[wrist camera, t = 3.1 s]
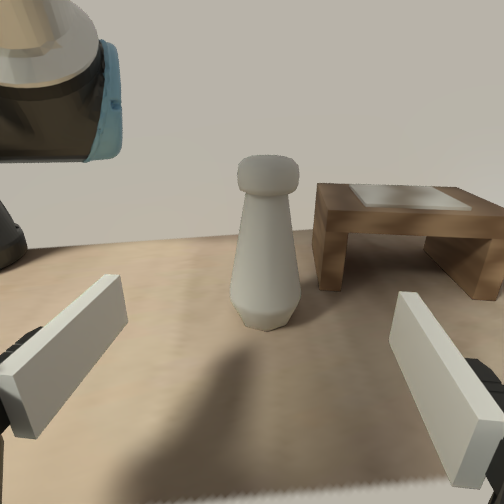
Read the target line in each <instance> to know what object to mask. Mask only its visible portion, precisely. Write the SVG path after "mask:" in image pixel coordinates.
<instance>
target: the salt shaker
mask: <svg viewBox="0 0 504 504" xmlns="http://www.w3.org/2000/svg"><path fill="white" fill-rule="evenodd" d="M237 175H238V176H237V177H238V186H239V189H240V190H241V191H243V192H246V194H245V200H244V207H243V212H242V219H241V224H240V230H239V236H238V242H237V248H236V254H235V260H234V266H233V272H232V278H231V284H230V299H231V302H232V304H233V305H234V307H235V309H236V310H237V312H238V313H239V315H240V317H241V318H242V320H243V322H244V324H245V326H247V327H251V328H254V329H258V330H262V331H266V332H267V331H270V330H273V329H276V328H279V327H282V326H284V325H286V324H287V322H288V321H289V319H290V317H291V315H292V314H293V312H294V310H295V309H296V307H297V305H298V303H299V301H300V297H301V287H300V281H299V274H298V267H297V260H296V253H295V246H294V239H293V232H292V225H291V217H290V209H289V200H288V194H290V193H292V192H294V191H295V190H296V189H297V186H298V181H299V168H298V165H297V164H296V162H295V161H294V160H293V159H291V158H288V157H284V156H277V155H256V156H250V157H247V158H244V159H243V160H242V161H241V162H240V163H239V166H238V172H237Z"/></svg>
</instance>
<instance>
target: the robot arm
mask: <svg viewBox="0 0 504 504" xmlns="http://www.w3.org/2000/svg"><path fill="white" fill-rule="evenodd" d="M121 147H122V107H121V82H120V69H119V59H118V53H117V49H116V47H115V46H114V45H113V44H111V43H108V42H105V41H104V40H102V39H101V40H99V39H98V35H97V31H96V29H95V26H94V24H93V22H92V20H91V19H90V18H89V16H88V15H87V14H86V13H85V12H84V11H83V10H82V9H81V8H80V7H78V6H77V5H76V4H74V3H73V2H71V1H70V0H0V163H50V162H83V163H87V162H89V161H92V160H103V159H111V158H114V157H115V156H117V155H118V154H119V152H120V150H121ZM26 251H27V244H26V240H25V237H24V233H23V231H22V229H21V228H20V226H19V225H18V224H16V223H14V221H13V219H12V218H11V216H10V214H9V213H8V211H7V210H6V208H5V206H4V205H3V204H2V202H1V201H0V269H2V268H4V267H6V266H8V265H10V264H12V263H14V262H15V261H17V260H18V259H20V258H21V257H22V256H23V255H24V254H25V253H26ZM127 323H128V318H127V312H126V306H125V300H124V295H123V289H122V283H121V277H120V275H112V274H105V275H104V276H102V277H101V278H100V279H99V280H98V281H97V282H95V283H94V284H93V285H92V286H91V287H90V288H88V289H87V290H86V291H85V292H84V293H83V294H81V295H80V296H79V297H78V298H77V299H76V300H74V301H73V302H72V303H71V304H70V305H69V306H67V307H66V308H65V309H64V310H63V311H62V312H60V313H59V314H58V315H57V316H56V317H55V318H53V319H52V320H51V321H50V322H49V323H48V324H46V325H45V326H44V327H41V326H40V327H38V328H36V329H34V330H32V331H31V332H29V333H27V334H25V335H24V336H23V337H22V338H20V339H19V340H18V341H17V342H16V343H15V345H12V346H11V347H10V348H8V349H7V350H6V352H4V353H2V354H1V355H0V504H2V480H3V452H4V441H3V437H2V435H1V434H2V433H3V432H4V430H5V429H6V428H7V427H8V426H9V425H10V426H11V428H12V431H13V433H14V436H15V437H19V438H28V439H37V438H38V437H39V435H40V434H41V433H42V431H43V430H44V429H45V428H46V426H47V425H48V424H49V423H50V421H51V420H52V419H53V417H54V416H55V415H56V414H57V412H58V411H59V410H60V409H61V407H62V406H63V405H64V403H65V402H66V401H67V400H68V398H69V397H70V396H71V394H72V393H73V392H74V391H75V389H76V388H77V387H78V386H79V384H80V383H81V382H82V380H83V379H84V378H85V377H86V375H87V374H88V373H89V371H90V370H91V369H92V368H93V366H94V365H95V364H96V363H97V361H98V360H99V359H100V357H101V356H102V355H103V354H104V352H105V351H106V350H107V349H108V347H109V346H110V345H111V343H112V342H113V341H114V340H115V338H116V337H117V336H118V334H119V333H120V332H121V331H122V329H123V328H124V327H125V326H126V324H127ZM389 344H390V346H391V348H392V351H393V353H394V355H395V357H396V360H397V362H398V364H399V367H400V369H401V371H402V373H403V376H404V378H405V380H406V383H407V385H408V387H409V389H410V392H411V394H412V396H413V399H414V401H415V403H416V405H417V408H418V410H419V412H420V415H421V417H422V419H423V421H424V424H425V426H426V428H427V431H428V433H429V435H430V437H431V440H432V442H433V444H434V447H435V449H436V451H437V453H438V456H439V458H440V460H441V463H442V465H443V467H444V469H445V472H446V474H447V476H448V479H449V481H450V483H451V485H452V487H460V488H469V489H478V490H480V488H481V486H482V483H483V481H484V479H485V477H487V479H488V481H489V483H490V484H491V486H492V488H493V490H494V492H493V494H492V496H491V498H490V500H489V503H488V504H504V385H502V384H501V381H500V380H499V379H498V377H497V376H496V375H495V374H494V372H493V371H492V370H491V369H490V368H488V367H487V366H486V365H484V364H483V363H482V362H480V361H479V360H478V359H470V358H464V357H463V356H462V354H461V353H460V352H459V350H458V349H457V348H456V346H455V345H454V343H453V342H452V341H451V339H450V338H449V336H448V335H447V334H446V332H445V331H444V329H443V328H442V327H441V325H440V324H439V322H438V321H437V320H436V318H435V317H434V316H433V314H432V313H431V311H430V310H429V309H428V307H427V306H426V304H425V303H424V302H423V300H422V299H421V297H420V296H419V295H418V293H417V292H402V291H399V294H398V299H397V303H396V308H395V313H394V317H393V322H392V327H391V331H390V336H389Z"/></svg>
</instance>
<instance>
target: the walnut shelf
mask: <svg viewBox="0 0 504 504" xmlns="http://www.w3.org/2000/svg"><path fill="white" fill-rule="evenodd" d="M348 233H369V234H391V235H414V236H426V241H425V245H424V249H423V250H424V251H425V252H426V253H427V254H428V255H429V256H430V257H431V258H432V259H433V260H434V261H435V262H436V263H437V264H438V265H439V266H440V267H441V268H442V269H443V270H444V271H445V272H446V273H447V274H448V275H449V276H450V277H451V278H452V279H453V280H454V281H455V282H456V283H457V284H458V285H459V286H460V287H461V288H462V289H463V290H464V291H465V292H466V293H467V294H468V295H469V296H470V297H471V298H472V299H475V300H492V301H496V298H497V295H498V292H499V289H500V287H501V284H502V281H503V278H504V208H503V207H501V206H498V205H496V204H494V203H491V202H489V201H487V200H485V199H482V198H480V197H478V196H475V195H473V194H471V193H469V192H466V191H464V190H462V189H459V188H457V187H435V186H404V185H371V184H334V183H317V192H316V203H315V215H314V225H313V237H312V248H313V254H314V260H315V266H316V272H317V278H318V284H319V290H328V291H341V285H342V277H343V270H344V263H345V255H346V248H347V240H348Z"/></svg>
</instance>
